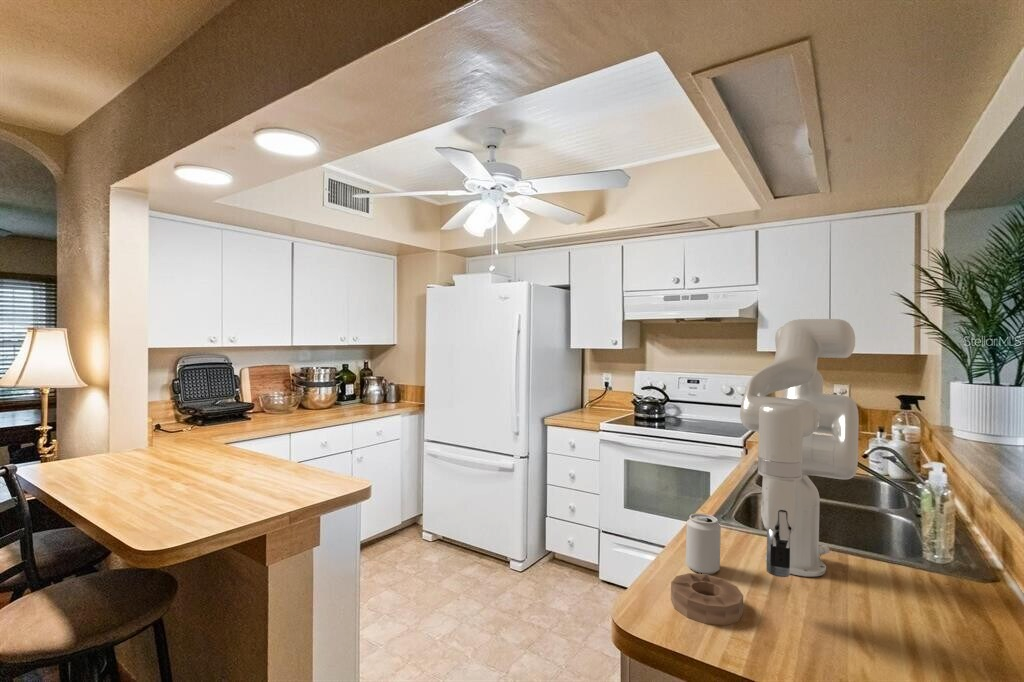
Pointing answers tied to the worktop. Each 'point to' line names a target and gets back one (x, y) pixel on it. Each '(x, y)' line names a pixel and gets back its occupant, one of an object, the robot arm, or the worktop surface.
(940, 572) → the worktop surface
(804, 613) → the worktop surface
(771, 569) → the peg
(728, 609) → the bead
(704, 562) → the can
